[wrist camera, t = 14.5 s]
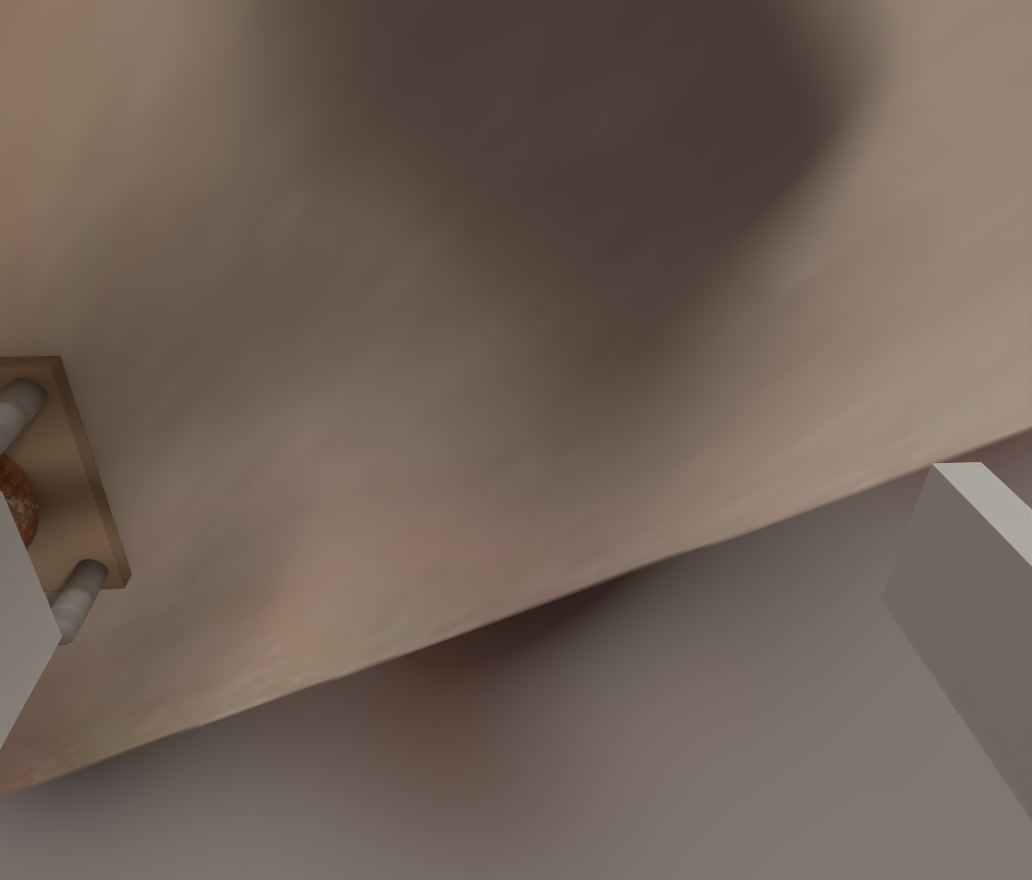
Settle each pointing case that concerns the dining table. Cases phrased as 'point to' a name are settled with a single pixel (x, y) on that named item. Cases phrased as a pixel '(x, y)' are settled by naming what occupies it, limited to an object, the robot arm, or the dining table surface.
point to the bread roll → (19, 498)
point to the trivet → (60, 489)
